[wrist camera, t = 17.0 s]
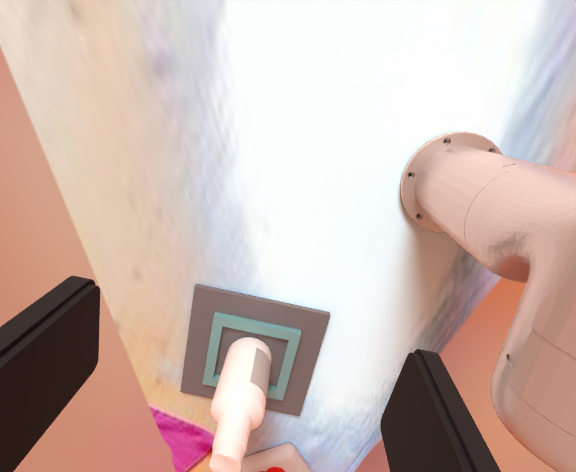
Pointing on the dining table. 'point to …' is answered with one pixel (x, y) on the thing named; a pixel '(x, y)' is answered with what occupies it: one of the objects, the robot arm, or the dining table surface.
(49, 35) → the dining table surface
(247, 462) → the icon
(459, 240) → the robot arm
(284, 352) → the dock
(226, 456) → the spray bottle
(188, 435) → the dining table surface
